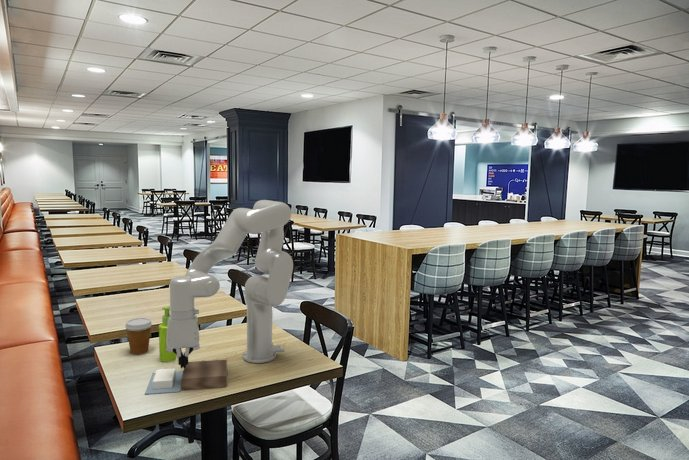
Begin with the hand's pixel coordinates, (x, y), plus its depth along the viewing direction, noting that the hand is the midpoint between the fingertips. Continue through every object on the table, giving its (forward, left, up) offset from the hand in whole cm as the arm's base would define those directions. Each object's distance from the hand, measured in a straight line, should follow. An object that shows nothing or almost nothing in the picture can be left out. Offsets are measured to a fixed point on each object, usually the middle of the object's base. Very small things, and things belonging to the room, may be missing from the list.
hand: (183, 366), depth 159 cm
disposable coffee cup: (+19, -28, -6) cm, 35 cm away
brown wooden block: (-7, 0, -5) cm, 9 cm away
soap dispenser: (+7, -20, -6) cm, 21 cm away
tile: (+6, 0, -3) cm, 7 cm away
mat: (+6, 0, -5) cm, 8 cm away
